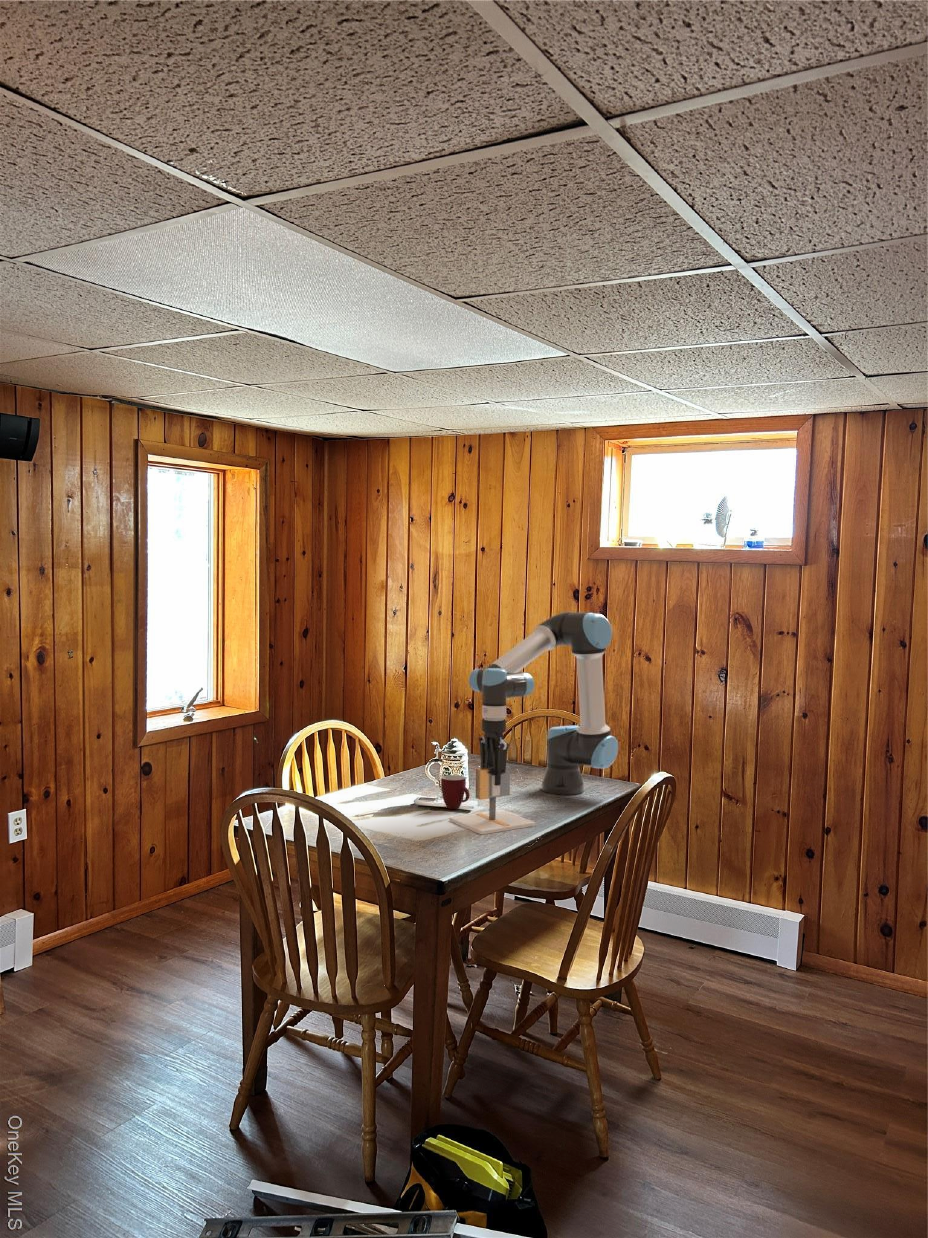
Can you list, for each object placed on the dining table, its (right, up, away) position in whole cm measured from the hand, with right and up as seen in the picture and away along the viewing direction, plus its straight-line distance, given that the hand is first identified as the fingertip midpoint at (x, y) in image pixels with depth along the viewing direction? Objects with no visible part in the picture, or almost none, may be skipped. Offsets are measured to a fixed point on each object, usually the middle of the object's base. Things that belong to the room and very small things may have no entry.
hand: (492, 794), depth 282 cm
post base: (0, -9, 0) cm, 9 cm away
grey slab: (0, -1, 0) cm, 1 cm away
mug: (-11, -8, +18) cm, 23 cm away
